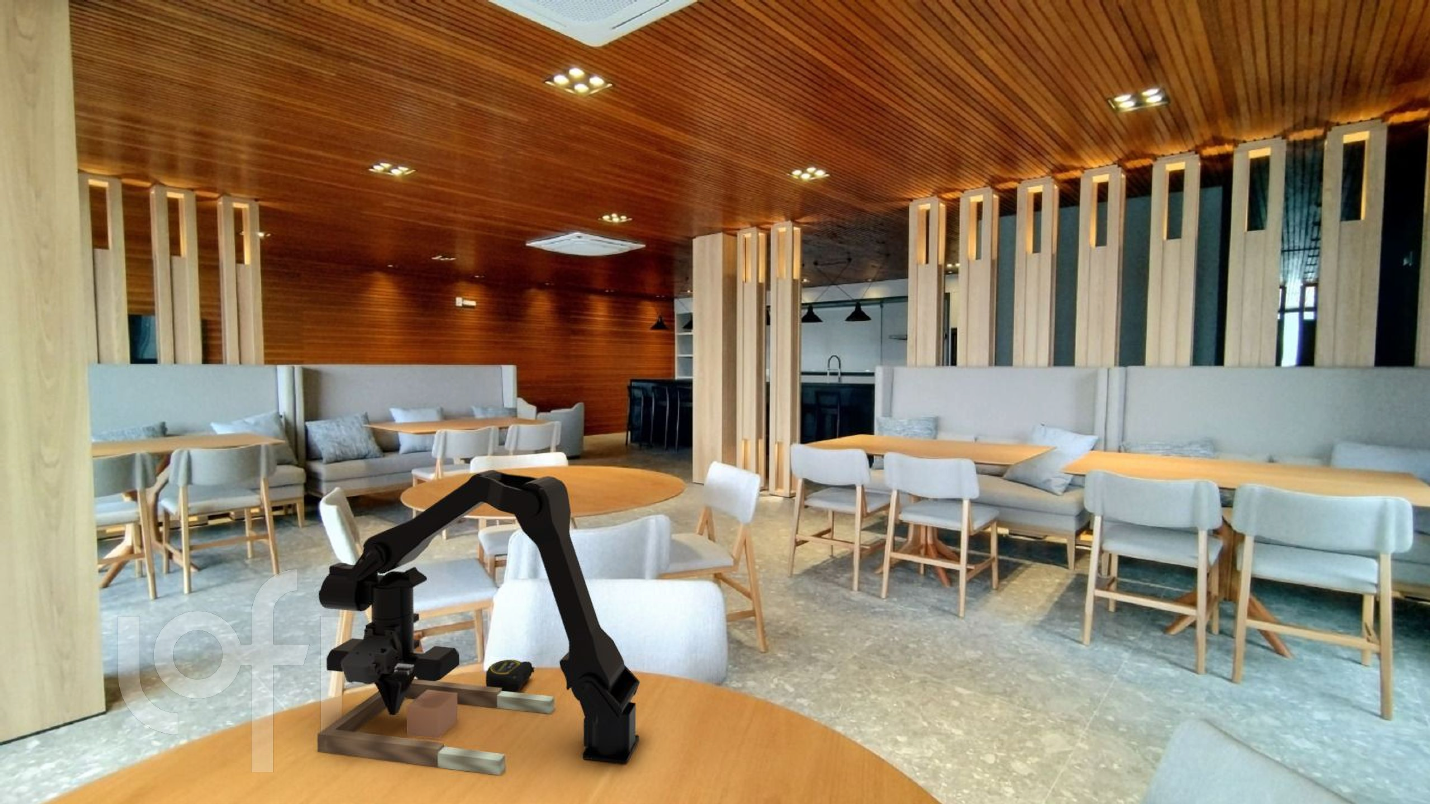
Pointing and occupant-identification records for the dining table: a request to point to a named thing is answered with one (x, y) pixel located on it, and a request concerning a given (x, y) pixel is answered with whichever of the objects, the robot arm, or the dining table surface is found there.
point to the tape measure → (508, 675)
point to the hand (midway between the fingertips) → (394, 713)
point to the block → (432, 714)
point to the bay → (421, 752)
